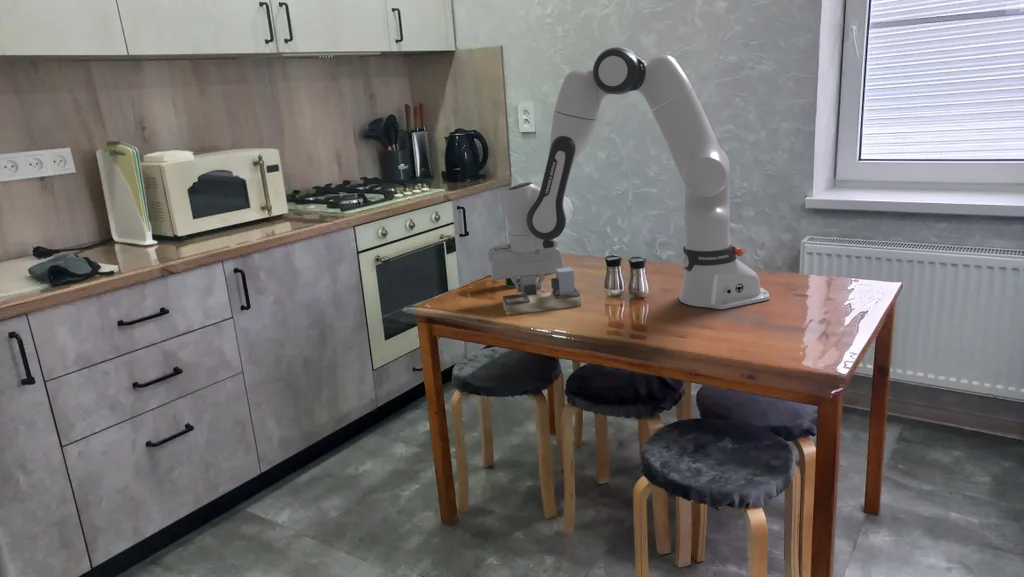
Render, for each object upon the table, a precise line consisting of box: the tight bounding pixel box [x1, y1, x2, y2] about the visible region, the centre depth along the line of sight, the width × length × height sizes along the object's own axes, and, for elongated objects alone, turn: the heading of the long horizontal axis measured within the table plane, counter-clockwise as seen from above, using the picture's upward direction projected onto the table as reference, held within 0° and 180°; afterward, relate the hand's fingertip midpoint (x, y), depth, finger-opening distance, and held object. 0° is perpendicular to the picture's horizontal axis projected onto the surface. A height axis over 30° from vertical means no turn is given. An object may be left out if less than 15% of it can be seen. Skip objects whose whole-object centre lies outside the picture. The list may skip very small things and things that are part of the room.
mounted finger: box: [550, 266, 575, 296], centre depth 188 cm, size 6×4×7 cm
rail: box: [502, 287, 582, 316], centre depth 189 cm, size 20×7×3 cm, turn 98°
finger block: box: [520, 275, 538, 296], centre depth 195 cm, size 6×4×7 cm
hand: (528, 290), depth 196 cm, fingers closed on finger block, 4 cm apart
